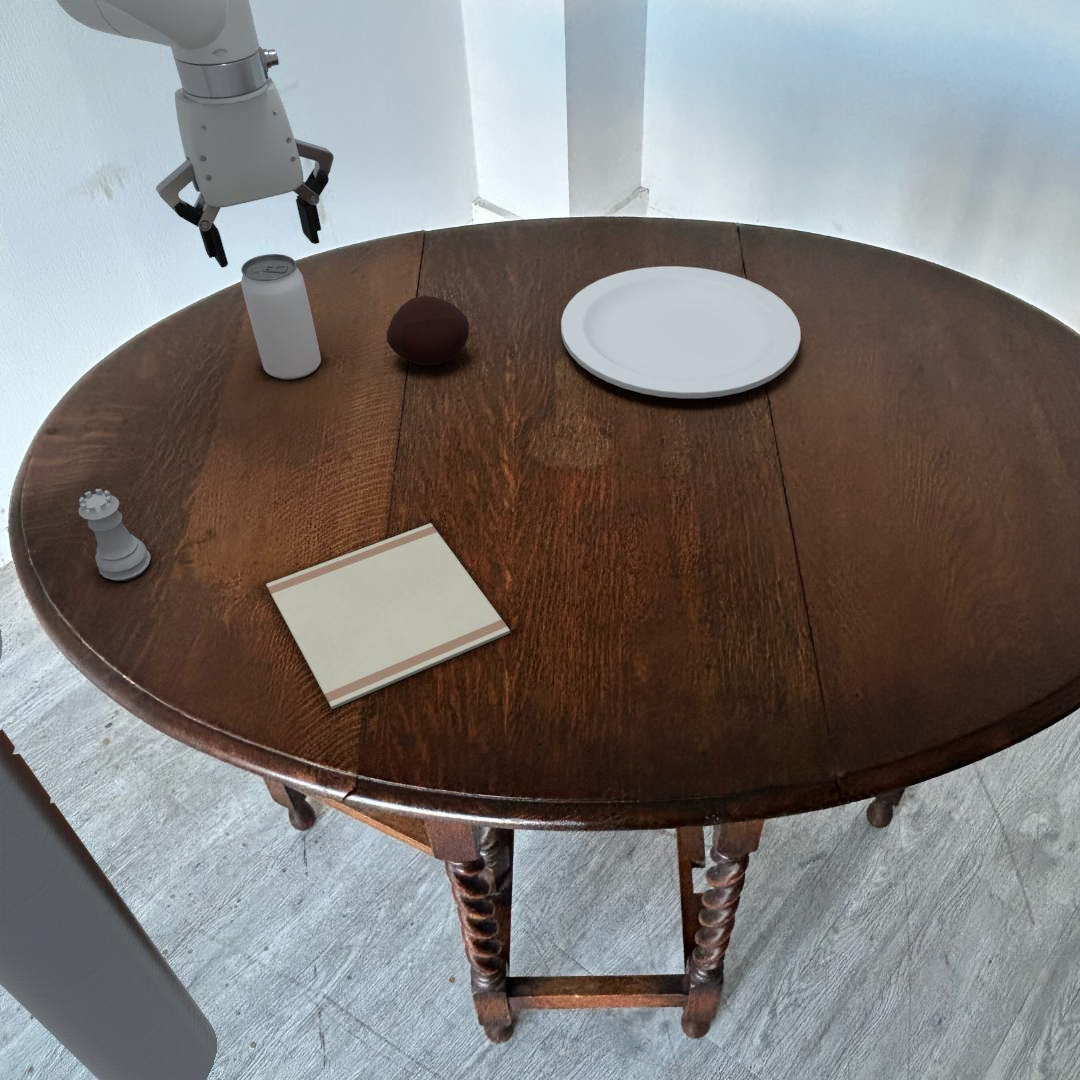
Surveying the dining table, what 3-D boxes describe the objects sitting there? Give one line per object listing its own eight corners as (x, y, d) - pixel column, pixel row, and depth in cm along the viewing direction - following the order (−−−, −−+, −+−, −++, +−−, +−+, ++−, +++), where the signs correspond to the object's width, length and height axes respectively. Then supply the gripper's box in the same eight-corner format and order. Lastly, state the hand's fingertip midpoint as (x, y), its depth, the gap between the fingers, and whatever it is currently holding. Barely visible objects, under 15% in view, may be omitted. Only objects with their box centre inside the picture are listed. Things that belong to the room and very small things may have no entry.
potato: (477, 374, 112) (472, 313, 106) (395, 385, 110) (384, 323, 104) (466, 337, 117) (460, 276, 111) (387, 347, 115) (377, 286, 110)
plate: (767, 278, 128) (769, 261, 126) (826, 403, 109) (829, 385, 107) (551, 288, 125) (551, 270, 124) (573, 417, 106) (573, 399, 104)
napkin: (332, 709, 78) (330, 706, 78) (266, 586, 88) (265, 583, 87) (510, 633, 84) (510, 629, 84) (431, 525, 94) (430, 522, 93)
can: (269, 350, 114) (244, 251, 106) (326, 349, 115) (305, 251, 106) (258, 381, 110) (230, 281, 101) (317, 381, 110) (294, 281, 101)
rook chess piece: (160, 569, 89) (130, 501, 83) (110, 590, 87) (77, 522, 81) (141, 542, 91) (111, 475, 86) (92, 563, 89) (59, 495, 84)
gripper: (299, 44, 95) (333, 216, 108) (114, 77, 89) (173, 255, 102) (327, 68, 91) (359, 244, 104) (135, 104, 85) (193, 287, 97)
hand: (267, 249), depth 103 cm, fingers open, 9 cm apart
